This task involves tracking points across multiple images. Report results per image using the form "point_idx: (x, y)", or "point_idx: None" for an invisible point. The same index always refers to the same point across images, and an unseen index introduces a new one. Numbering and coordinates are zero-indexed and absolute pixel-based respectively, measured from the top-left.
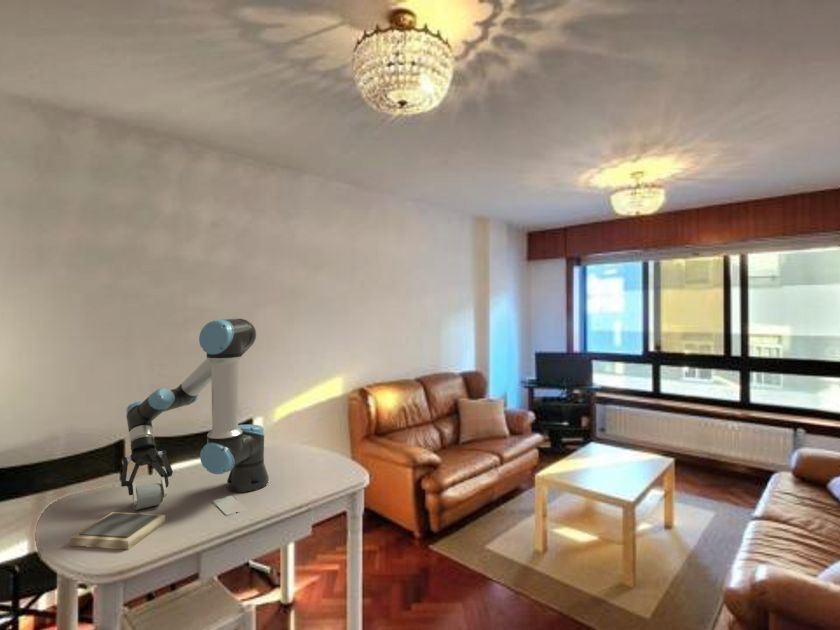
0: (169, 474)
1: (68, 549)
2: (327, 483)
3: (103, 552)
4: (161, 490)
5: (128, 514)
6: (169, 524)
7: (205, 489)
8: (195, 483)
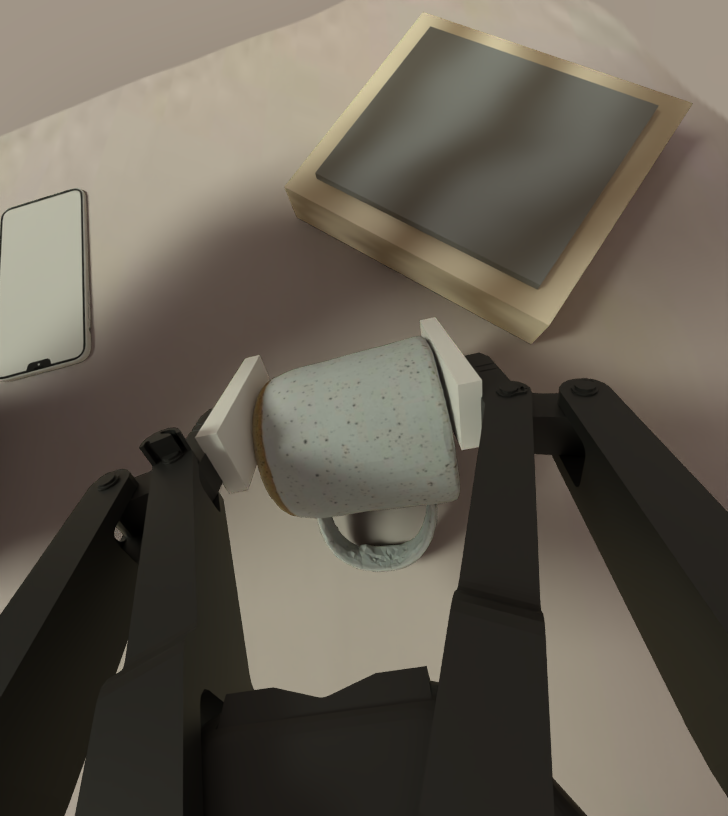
0: (143, 478)
1: None
2: None
3: None
4: (268, 383)
5: (453, 234)
6: (282, 195)
7: None
8: None
